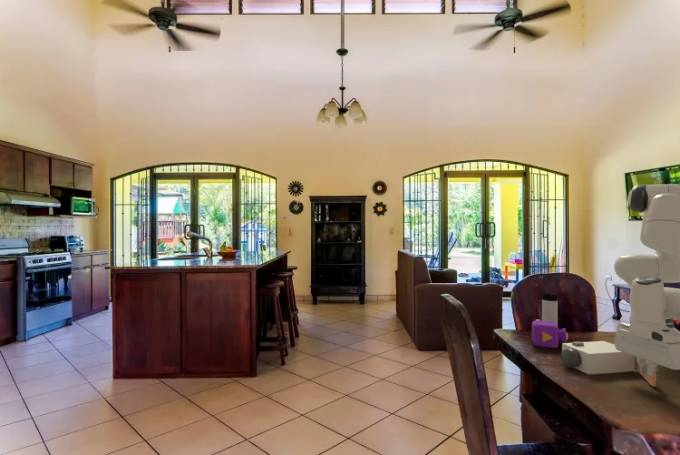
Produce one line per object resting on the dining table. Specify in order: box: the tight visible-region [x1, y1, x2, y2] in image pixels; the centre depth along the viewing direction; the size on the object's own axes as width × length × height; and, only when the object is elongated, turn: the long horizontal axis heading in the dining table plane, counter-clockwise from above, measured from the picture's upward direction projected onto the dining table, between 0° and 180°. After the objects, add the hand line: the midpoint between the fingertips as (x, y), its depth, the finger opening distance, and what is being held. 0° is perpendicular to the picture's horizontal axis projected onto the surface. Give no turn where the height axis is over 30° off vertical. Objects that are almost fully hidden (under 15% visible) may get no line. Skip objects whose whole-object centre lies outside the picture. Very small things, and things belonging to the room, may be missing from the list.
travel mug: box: [541, 292, 559, 326], centre depth 176 cm, size 6×7×20 cm
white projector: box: [560, 340, 634, 375], centre depth 137 cm, size 21×12×8 cm, turn 100°
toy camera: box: [531, 319, 569, 349], centre depth 162 cm, size 11×14×10 cm
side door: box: [633, 356, 659, 387], centre depth 126 cm, size 16×2×6 cm, turn 157°
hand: (646, 373), depth 120 cm, fingers closed
